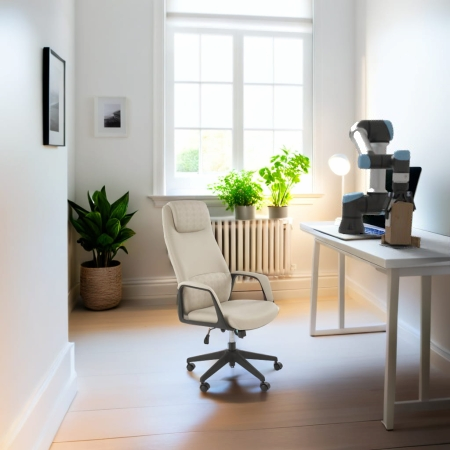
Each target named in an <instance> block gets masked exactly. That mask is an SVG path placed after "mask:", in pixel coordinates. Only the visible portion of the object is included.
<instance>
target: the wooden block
mask: <svg viewBox="0 0 450 450" xmlns="http://www.w3.org/2000/svg"><path fill="white" fill-rule="evenodd" d="M390 213H391V225H390V226H385V229H384V234H385V241H387V242H388V243H389V244H405V245H410V244H411V236H412V230H413V228H412V227H413V216H414V212H413V204H412V203H409V202H403V201H398V202H396V203H391V211H390Z"/></svg>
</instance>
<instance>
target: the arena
mask: <svg viewBox="0 0 450 450" xmlns="http://www.w3.org/2000/svg"><path fill="white" fill-rule="evenodd" d="M380 241H381V242H380V244H378V245H379V246H382V247H385V248H390V249H395V250H401V249H413V247H414V248H417V247H419V248H421V236H415V235H411V244H410V245H405V244H389V243H388V242H387V241H385V233H383V234H382V233H381V238H380Z"/></svg>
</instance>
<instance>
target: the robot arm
mask: <svg viewBox="0 0 450 450" xmlns="http://www.w3.org/2000/svg"><path fill="white" fill-rule="evenodd" d="M348 136H349V137H348V138H350V141H351V142H352V143H353V144H354V146H355V149H356V151H357V154H358V156H357V167H358V168H359V169H360V170H361V169H362V170H369V188H368V189H367V190H366V194H365V193H364V192H363V191H356V192H355V191H354V192H349V193H345V194H344V195H342V201H341V202H342V203H341V205H342V206H341V220H340V223H339V226H338V229H337V231H338V233H340V234H345V235H361V234H360V233H364V234H365V233H366V228H365V225H364V221H363V216H364V215H368V216H369V215H370V216H371V215H374V216H381V215H383V216H384V219H385V223H384V225H385V226H390V225H391V213H390V211H391V203H396V202H398V201H403V202H409V203H412V204H413V213H414V212H415V211H416V210H417V207H416V204H415V200H414V198H413V191H409V184H410V183H409V181H410V166H411V164H410V163H411V152H410V150H408V149H396V150H394V152H393V153H391V154H389V153H388V154H387V149H388V148H387V147H388V146H389V145H390V144H391V143H390V142H392V140H393V139H394V126H393V124H392V122H391V121H390V120H388V119H361V120H359V121H357V122H355V123H354V124H352V126H351V127H350V129H349V133H348ZM386 170H392V183H391V184H392V185H391V189H392V191H391V192H390V191H388V190H386V173H387V172H386Z"/></svg>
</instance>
